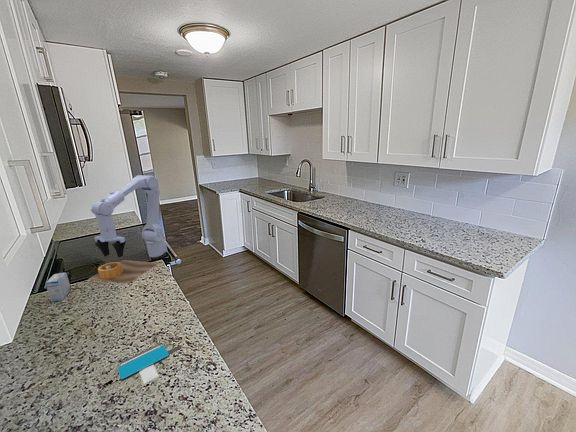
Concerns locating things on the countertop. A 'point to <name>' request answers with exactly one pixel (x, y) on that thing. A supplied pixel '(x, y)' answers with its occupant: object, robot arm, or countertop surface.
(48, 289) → the medicine box
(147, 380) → the blue panel with block
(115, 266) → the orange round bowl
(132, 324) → the countertop surface
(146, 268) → the walnut board
